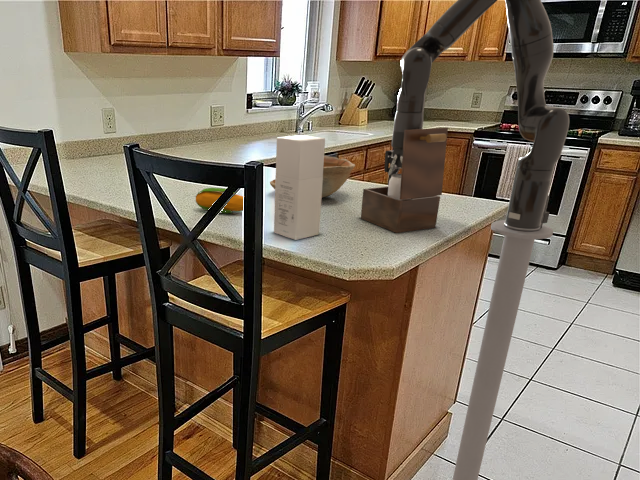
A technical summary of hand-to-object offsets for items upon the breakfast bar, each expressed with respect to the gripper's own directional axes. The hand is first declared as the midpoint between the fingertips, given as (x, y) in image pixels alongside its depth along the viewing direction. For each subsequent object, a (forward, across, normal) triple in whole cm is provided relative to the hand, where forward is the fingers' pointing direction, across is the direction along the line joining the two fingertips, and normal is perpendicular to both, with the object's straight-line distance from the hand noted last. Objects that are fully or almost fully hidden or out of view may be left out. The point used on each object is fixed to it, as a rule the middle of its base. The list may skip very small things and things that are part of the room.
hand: (400, 190), depth 148 cm
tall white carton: (+9, -2, -32) cm, 33 cm away
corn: (+9, -31, -41) cm, 52 cm away
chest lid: (-9, +8, 0) cm, 12 cm away
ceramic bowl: (+9, -40, -5) cm, 41 cm away
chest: (+9, 0, 0) cm, 9 cm away
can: (+8, 0, 0) cm, 8 cm away
